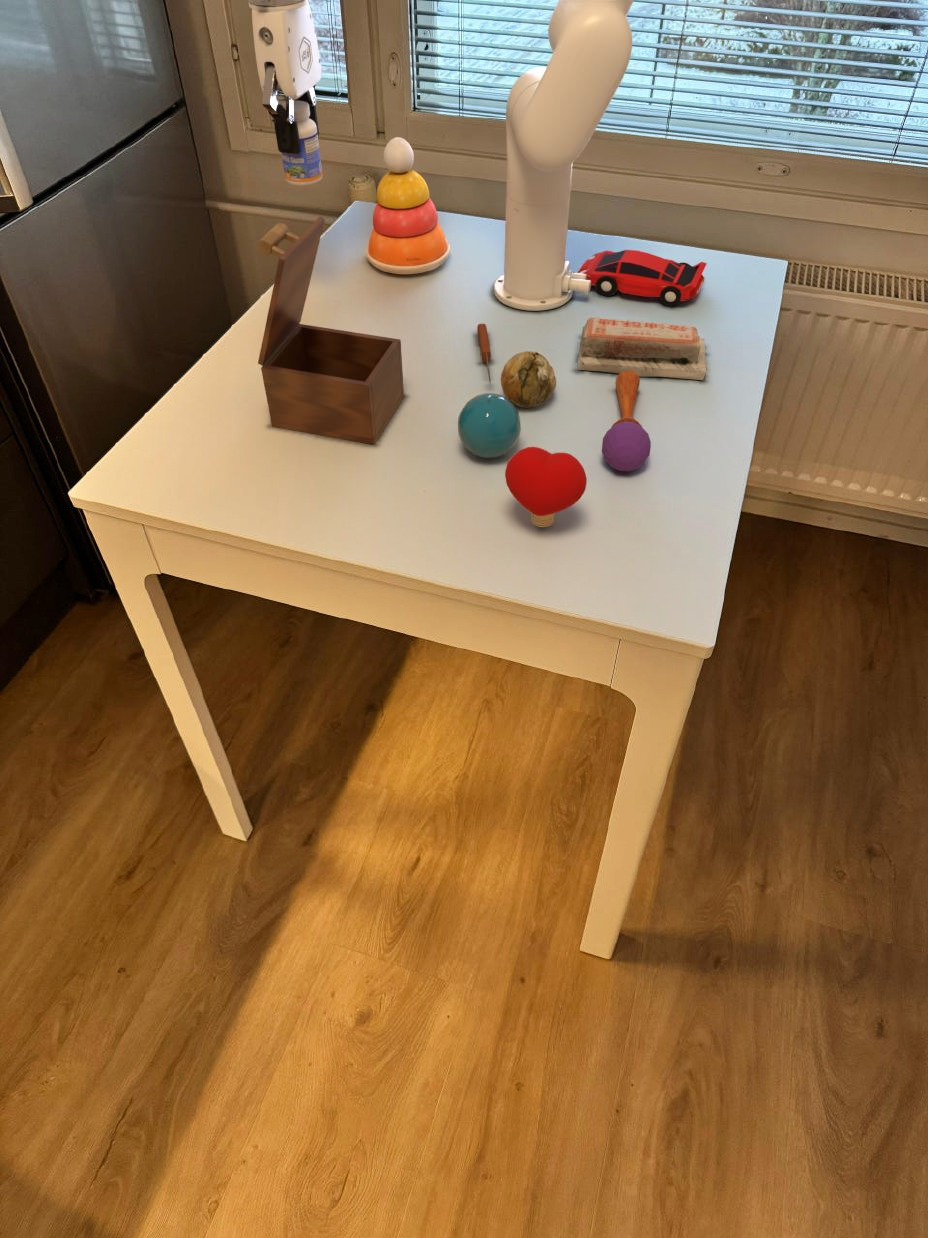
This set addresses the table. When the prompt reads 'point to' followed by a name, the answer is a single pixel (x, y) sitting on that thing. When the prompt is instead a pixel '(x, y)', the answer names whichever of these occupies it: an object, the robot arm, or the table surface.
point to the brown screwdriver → (484, 345)
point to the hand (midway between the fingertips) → (299, 142)
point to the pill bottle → (303, 150)
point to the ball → (489, 425)
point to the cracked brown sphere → (528, 379)
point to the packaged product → (642, 349)
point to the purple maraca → (626, 429)
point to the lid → (288, 282)
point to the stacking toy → (405, 218)
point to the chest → (334, 383)
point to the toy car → (643, 275)
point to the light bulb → (545, 482)
